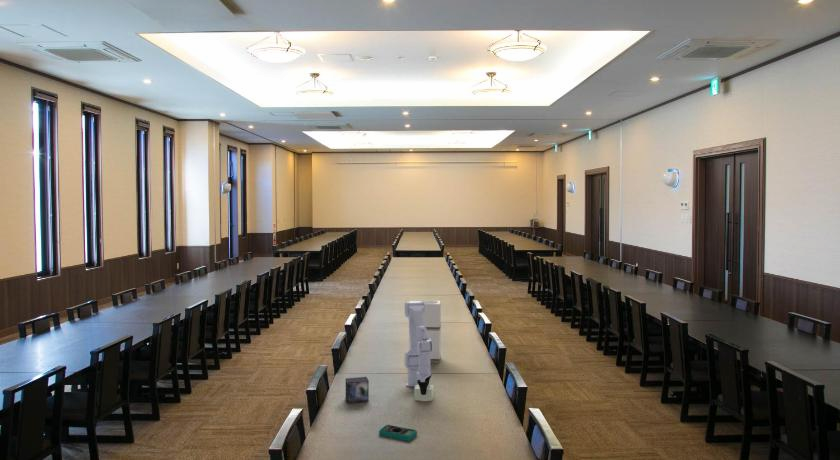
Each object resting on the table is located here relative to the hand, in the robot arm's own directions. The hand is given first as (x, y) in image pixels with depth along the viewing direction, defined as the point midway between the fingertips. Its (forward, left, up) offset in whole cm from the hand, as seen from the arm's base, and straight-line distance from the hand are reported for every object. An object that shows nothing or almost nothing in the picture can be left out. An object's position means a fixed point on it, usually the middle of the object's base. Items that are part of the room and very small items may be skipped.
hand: (424, 391), depth 278 cm
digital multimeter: (+44, -5, -4) cm, 45 cm away
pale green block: (0, 0, -3) cm, 3 cm away
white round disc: (0, 0, -3) cm, 3 cm away
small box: (+7, -32, -4) cm, 33 cm away
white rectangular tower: (-66, -5, -3) cm, 66 cm away
